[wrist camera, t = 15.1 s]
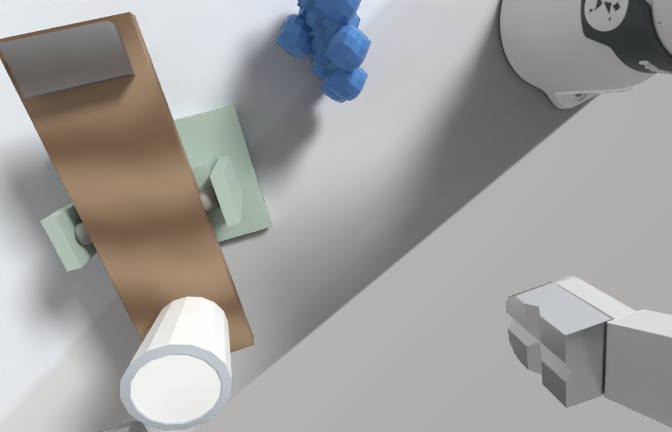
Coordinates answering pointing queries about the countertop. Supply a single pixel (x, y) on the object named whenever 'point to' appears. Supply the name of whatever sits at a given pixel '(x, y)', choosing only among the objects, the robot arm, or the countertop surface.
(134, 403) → the white cup
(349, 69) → the grapes
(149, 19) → the countertop surface
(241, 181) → the pivot stand
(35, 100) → the seesaw beam
